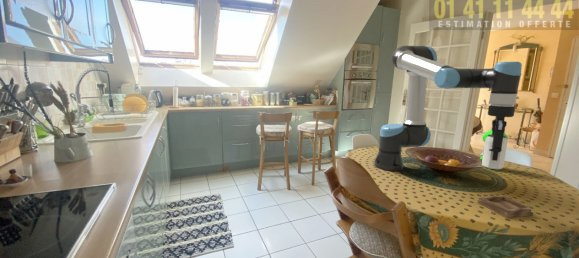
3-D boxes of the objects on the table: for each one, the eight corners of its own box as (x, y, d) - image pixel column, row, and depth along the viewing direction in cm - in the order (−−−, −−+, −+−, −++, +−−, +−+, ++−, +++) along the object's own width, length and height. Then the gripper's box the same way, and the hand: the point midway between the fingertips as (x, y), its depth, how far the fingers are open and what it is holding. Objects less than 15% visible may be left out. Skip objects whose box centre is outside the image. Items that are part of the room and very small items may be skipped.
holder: (506, 218, 91) (507, 211, 90) (477, 202, 102) (478, 196, 101) (532, 215, 93) (534, 209, 92) (501, 200, 104) (502, 194, 103)
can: (477, 165, 100) (481, 135, 97) (489, 163, 102) (493, 133, 99) (495, 170, 94) (500, 138, 91) (507, 168, 96) (512, 137, 93)
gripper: (519, 108, 83) (507, 175, 88) (512, 104, 99) (502, 161, 103) (490, 106, 88) (480, 170, 92) (487, 103, 103) (479, 157, 107)
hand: (492, 165), depth 97 cm, fingers closed on can, 6 cm apart
